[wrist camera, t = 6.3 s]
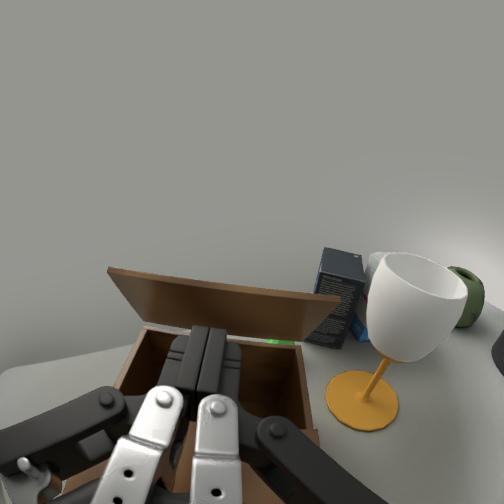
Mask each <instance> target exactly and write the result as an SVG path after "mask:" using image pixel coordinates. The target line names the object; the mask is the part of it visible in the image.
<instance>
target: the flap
mask: <svg viewBox="0 0 504 504" xmlns="http://www.w3.org/2000/svg"><path fill="white" fill-rule="evenodd" d="M107 273H108V274H109V276H110V277H111V279H112V280H113V282H114V283H115V284H116V286H117V287H118V289H119V290H120V291H121V293H122V294H123V295H124V297H125V298H126V299H127V301H128V302H129V303H130V305H131V306H132V307H133V308H134V310H135V311H136V312H137V313H138V314H139V316H140V317H141V319H142V320H143V321H146V322H151V323H157V324H162V325H168V326H174V327H179V328H185V329H191V330H192V327H193V325H198V326H205V327H210V329H211V327H212V328H219V329H227V335H234V336H243V337H252V338H262V339H272V340H284V341H297V342H302V341H303V340H304V339H306V338H307V337H308V336H309V335H310V334H311V333H312V332H313V331H314V330H315V329H316V328H317V327H318V326H319V325H320V324H321V323H322V322H323V320H324V319H325V318H326V317H327V316H328V315H329V314H330V313H331V312H332V311H333V310H334V309H335V308H336V307H337V306H338V305H339V304H340V303H341V299H340V296H332V295H322V294H311V293H301V292H292V291H282V290H273V289H265V288H256V287H248V286H239V285H231V284H223V283H216V282H208V281H201V280H193V279H186V278H179V277H173V276H165V275H158V274H153V273H146V272H140V271H133V270H126V269H121V268H115V267H108V270H107Z"/></svg>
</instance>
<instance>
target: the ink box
mask: <svg viewBox="0 0 504 504" xmlns="http://www.w3.org/2000/svg"><path fill="white" fill-rule="evenodd" d="M386 254H387V253H384V252H375V253H371V255H370V258H369V261H368V264H367V267H366V270H365V273H364V276H365V280H366V283H365V286H364V289H363V291H362V294H361V297H360V300H359V303H358V305H357V308H356V311H355V314H354V316H353V319H352V321H351V324H350V328H351V330H352V331H353V333H354V335H355V336H356V338H357V340H358V341H359V342H362V341H370V339H369V337H368V329H367V315H366V313H367V303H368V294H369V290H370V287H371V283H372V279H373V275H374V273H375V272H376V270H377V268H378V266H379V264H380V262H381V259H382V258H383V257H384V256H385V255H386Z"/></svg>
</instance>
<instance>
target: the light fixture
mask: <svg viewBox="0 0 504 504" xmlns="http://www.w3.org/2000/svg"><path fill="white" fill-rule="evenodd" d="M492 357H493V360H494V362H495V364H496V366H497V367H498V369H499V370H500V372H501V373H502V374H503V375H504V330H503V332H502V333H501V335H500V336H499V338H498V339H497V341H496V342H495V344H494V345H493V347H492Z"/></svg>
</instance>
